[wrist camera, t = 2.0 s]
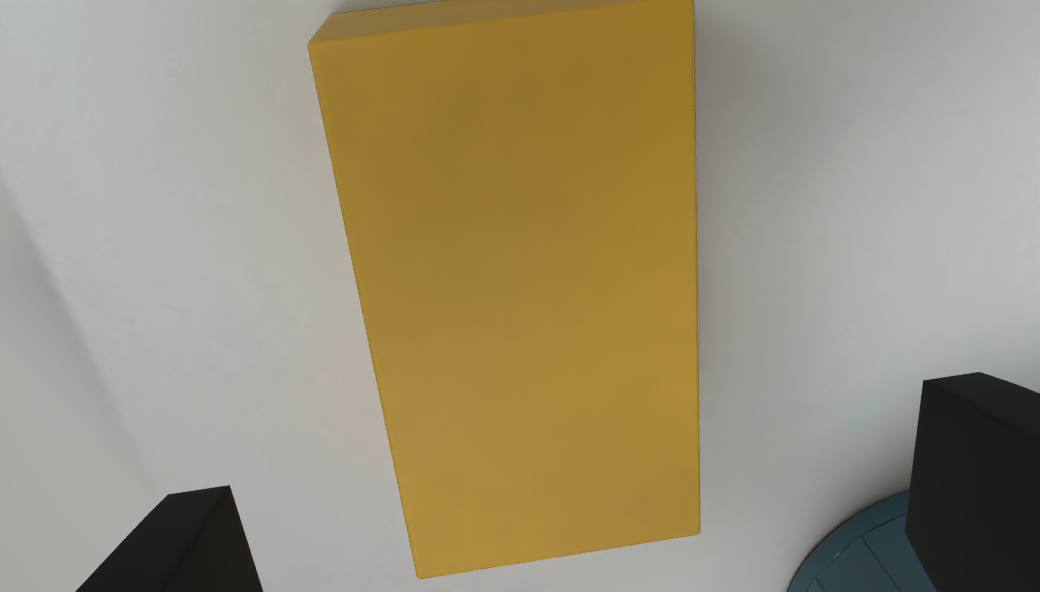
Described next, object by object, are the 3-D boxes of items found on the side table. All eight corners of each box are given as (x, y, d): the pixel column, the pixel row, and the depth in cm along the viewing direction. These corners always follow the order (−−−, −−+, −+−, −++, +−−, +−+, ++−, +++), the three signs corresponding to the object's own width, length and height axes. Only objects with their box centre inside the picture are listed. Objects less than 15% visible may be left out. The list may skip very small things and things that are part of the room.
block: (657, 437, 17) (701, 535, 15) (416, 474, 17) (416, 581, 14) (639, -24, 14) (695, -7, 11) (328, 14, 13) (306, 41, 10)
